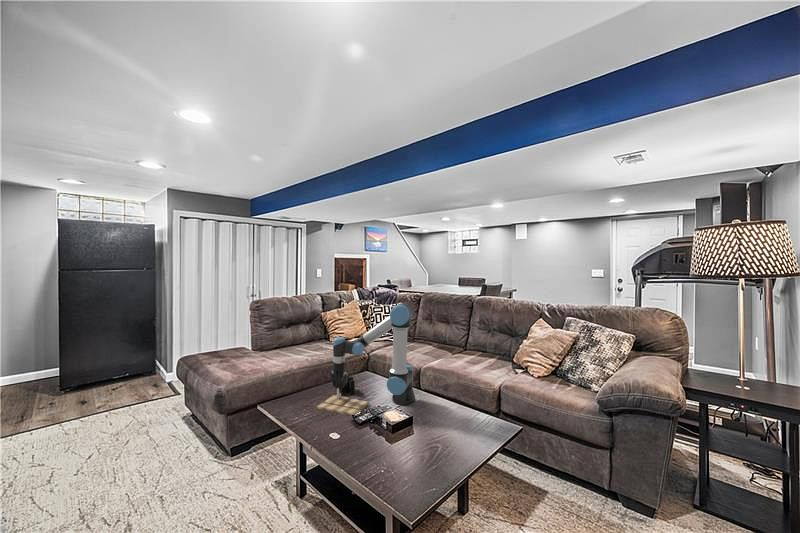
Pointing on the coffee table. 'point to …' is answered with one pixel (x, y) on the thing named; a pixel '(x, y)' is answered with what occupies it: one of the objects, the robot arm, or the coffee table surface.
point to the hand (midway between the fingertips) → (338, 397)
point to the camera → (349, 386)
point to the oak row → (338, 409)
